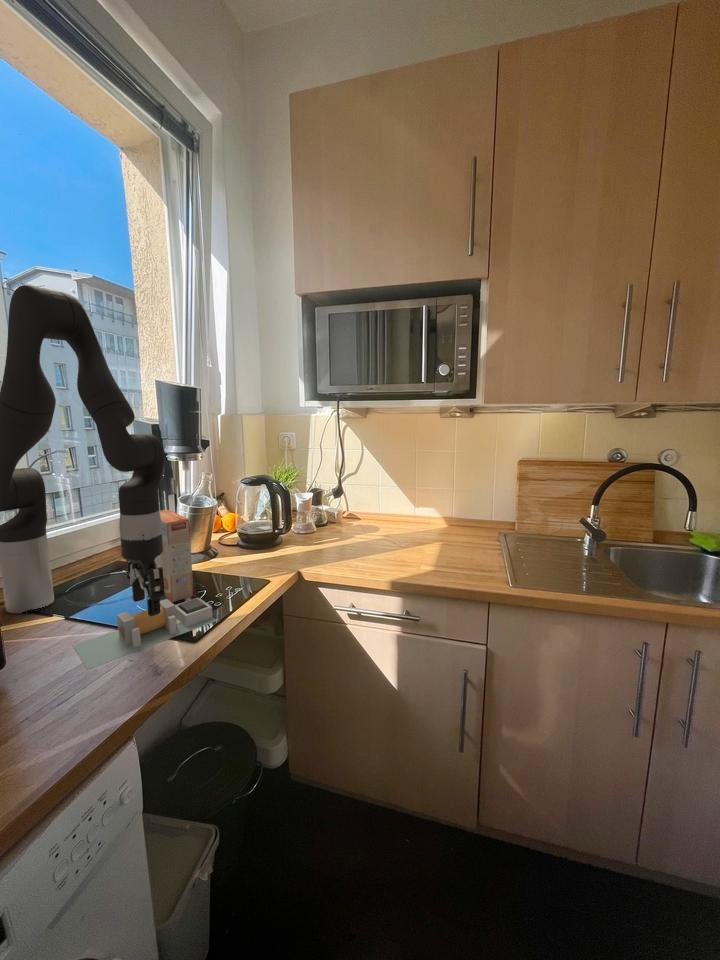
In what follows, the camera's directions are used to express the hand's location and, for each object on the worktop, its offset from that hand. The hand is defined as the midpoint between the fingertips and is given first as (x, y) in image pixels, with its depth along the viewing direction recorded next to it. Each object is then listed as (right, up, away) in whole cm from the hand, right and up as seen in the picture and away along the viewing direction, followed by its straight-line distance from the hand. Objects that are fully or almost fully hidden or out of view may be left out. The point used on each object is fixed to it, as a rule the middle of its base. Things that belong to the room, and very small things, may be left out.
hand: (146, 607), depth 86 cm
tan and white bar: (0, -5, +1) cm, 6 cm away
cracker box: (-4, -3, +21) cm, 22 cm away
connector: (+7, -4, +7) cm, 11 cm away
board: (0, -6, +1) cm, 6 cm away
